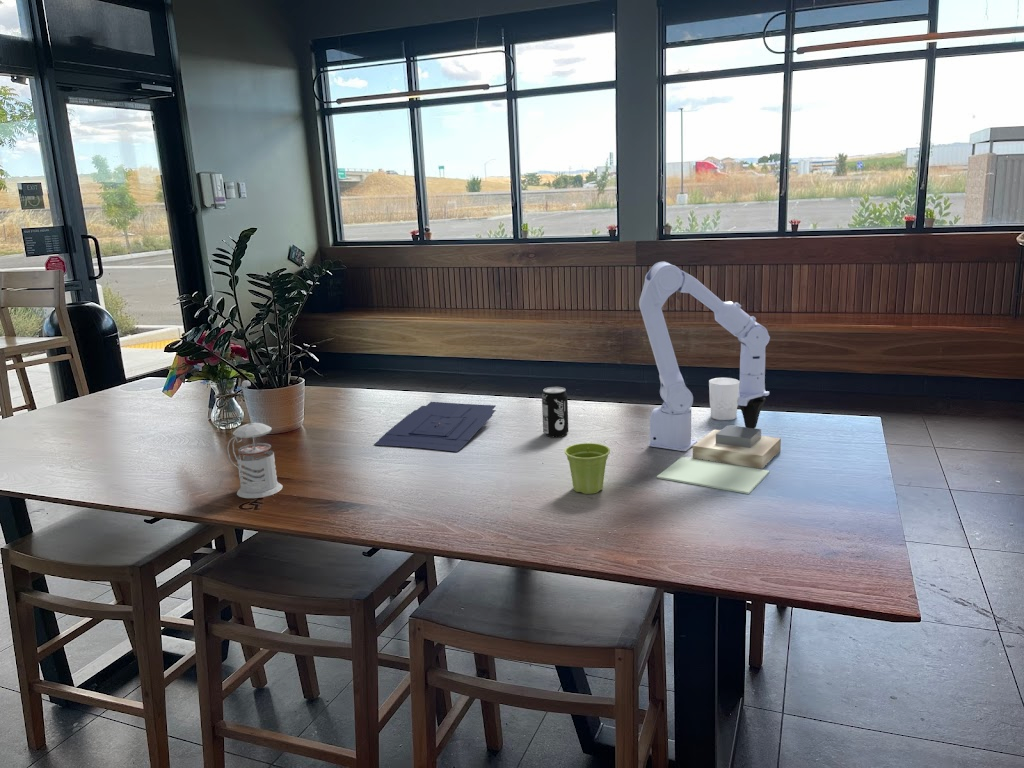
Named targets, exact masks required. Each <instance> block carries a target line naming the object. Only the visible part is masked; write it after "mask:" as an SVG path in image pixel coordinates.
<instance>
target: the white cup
mask: <svg viewBox="0 0 1024 768" xmlns="http://www.w3.org/2000/svg"><path fill="white" fill-rule="evenodd" d="M739 385H740V379H739V380H738V379H736V378H732V377H715V378H711V379H709V380H708V387H709V390H708V393H709V408H710V417H711V419H713V420H718V421H732V420H735V419H737V417H738V416H737V415H738V407H739V405H738V402H737V400H738V397H739V394H738V391H739Z"/></svg>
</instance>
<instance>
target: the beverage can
mask: <svg viewBox="0 0 1024 768" xmlns="http://www.w3.org/2000/svg"><path fill="white" fill-rule="evenodd" d="M542 390H543V392H542V394H541V409H542V411H541V413H542V432H543V434H544V435H545V436H547V437H549V438H561V437H566V436H567V434H568V433H569V410H568V408H569V406H568V405H569V404H568V399H569V398H568V393H567V392H566V388H565V387H561V386H549V387H545V388H544V389H542Z"/></svg>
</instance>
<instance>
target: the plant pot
mask: <svg viewBox="0 0 1024 768" xmlns="http://www.w3.org/2000/svg"><path fill="white" fill-rule="evenodd" d="M610 452H611V448H610V447H609V446H607V445H604V444H600V443H595V442H583V443H576V444H572V445H569V446H567V447H566V448H565V449H564V454H565V455H566V457H567V460H568V464H569V470H570V475H571V481H572V488H573V491H575V492H576V493H582V494H585V495H590V494H592V495H593V494H598V493H599V492H600V491H602V490H603V488H604V487H603V486H604V481H605V471H606V464H607V460H608V457H609V455H610V454H611V453H610Z"/></svg>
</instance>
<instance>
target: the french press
mask: <svg viewBox="0 0 1024 768" xmlns="http://www.w3.org/2000/svg"><path fill="white" fill-rule="evenodd" d="M241 387H243V388H244V387H245V388H246V389H245V390H246V397H247V404H248V413H249V420H250V422H249V423H246V424H243V425H241V426H239V427H237V428H236V429H234V430H233V432H232V435H233V437H232V438H230V439H229V441H228V442H227V448H226V449H227V455H228V459H229V460H230V463H231V464H232V465H233V466H234V467H236V468H237V469H238V476H239V484H240V487H239V489H238V490H237V492H236V495H237V496H238V497H239V498H244V499H258V498H265V497H270V496H273V495H274V494H275V495H276V494H277V493H278V492H280V491H281V490H282V489H283V484H281V483H280V482H278V476H277V469H276V468H277V467H276V463H275V462H276V459H275V451H273V450H271V449H272V445H271V444H269V443H263V442H262V443H261V442H260V443H259V442H258V443H255V438H257V437H263V436H265V435H267V434H270V433H271V431H272V427H271V426H269V425H267V424H264V423H260V422H252V421H253V420H252V414H251V407H250V398H249V391H248V387H251V381H250V380H248V379H247V380H243V381H242V382H241ZM238 438H240V440H239V441H238ZM243 438H245V439H248V438H252V444H246V445H243V446H240V447H239V448H238V449H237V453H238V454H239V455H236V453H235V445H234V444H235V442H236V443H241V442H242V441H243ZM232 441H233V442H232ZM231 442H232V453H233V456H234V457H235V460H236V461H237V465H236V464H235V462H233V460H232V459H231V455H230V451H229V448H230V447H229V446H230V443H231ZM263 454H264V455H267V456H264V455H263ZM241 455H242V458H241ZM259 455H263V456H259ZM256 456H259V457H257V458H255V457H256ZM242 459H243V460H242ZM243 467H244V468H243ZM244 478H245V479H244Z"/></svg>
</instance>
